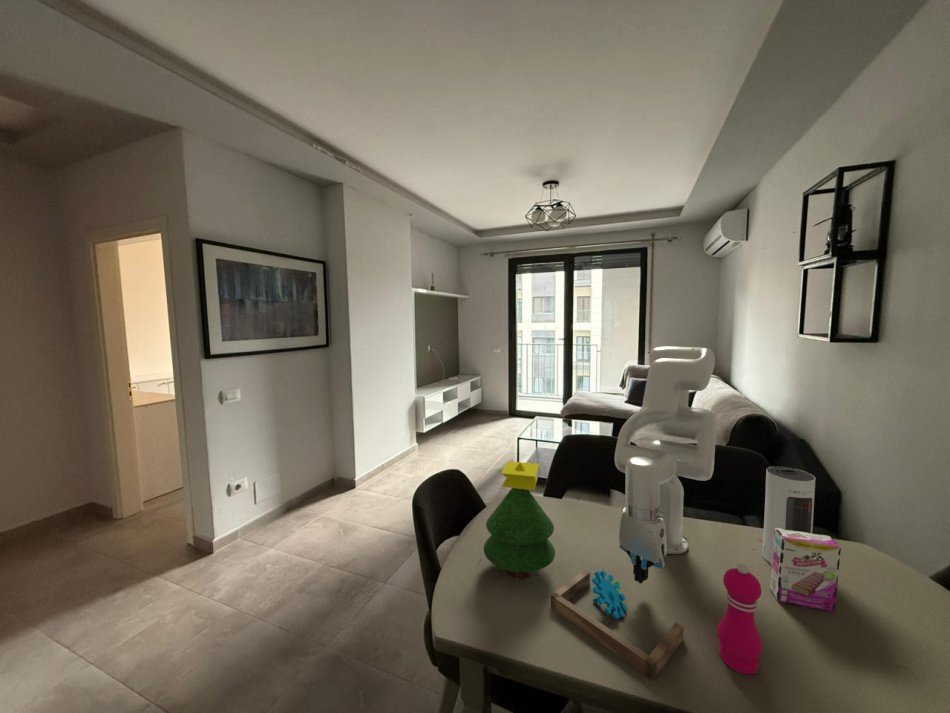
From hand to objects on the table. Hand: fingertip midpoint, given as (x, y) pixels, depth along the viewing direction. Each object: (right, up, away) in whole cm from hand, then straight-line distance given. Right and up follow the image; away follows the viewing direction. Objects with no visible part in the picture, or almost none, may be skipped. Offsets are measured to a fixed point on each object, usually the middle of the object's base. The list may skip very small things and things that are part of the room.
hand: (640, 579), depth 91 cm
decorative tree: (-29, -4, +10) cm, 31 cm away
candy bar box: (+38, -4, -2) cm, 38 cm away
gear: (-9, -5, -4) cm, 11 cm away
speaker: (+46, -3, +12) cm, 48 cm away
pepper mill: (+11, -6, -18) cm, 22 cm away
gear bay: (-10, -5, -8) cm, 14 cm away
